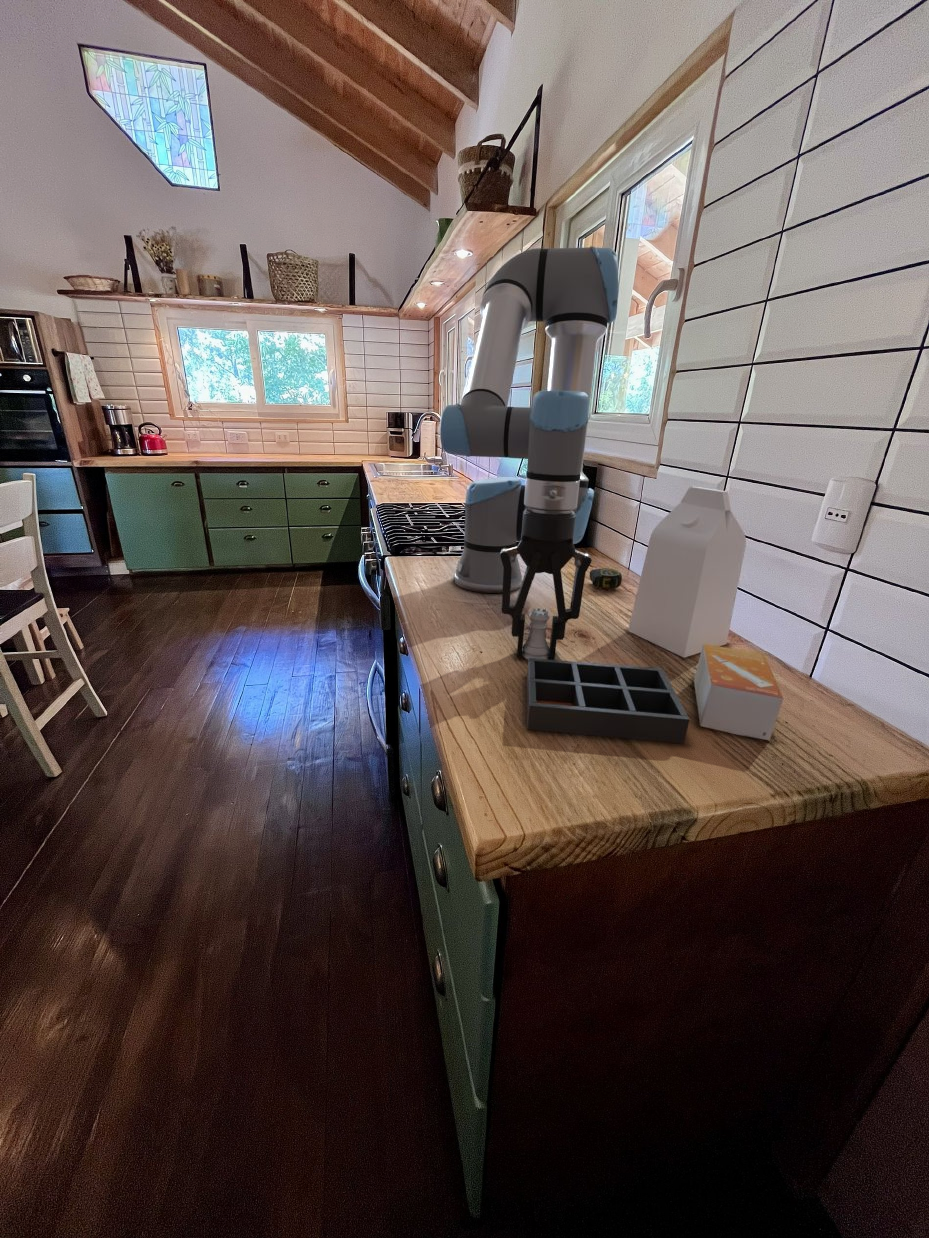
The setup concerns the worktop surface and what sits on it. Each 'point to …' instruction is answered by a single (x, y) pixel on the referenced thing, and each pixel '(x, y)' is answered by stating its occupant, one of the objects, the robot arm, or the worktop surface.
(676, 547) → the milk
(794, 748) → the worktop surface
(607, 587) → the tape measure
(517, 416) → the robot arm
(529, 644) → the rook chess piece
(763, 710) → the small box
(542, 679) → the grid tray
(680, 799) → the worktop surface
